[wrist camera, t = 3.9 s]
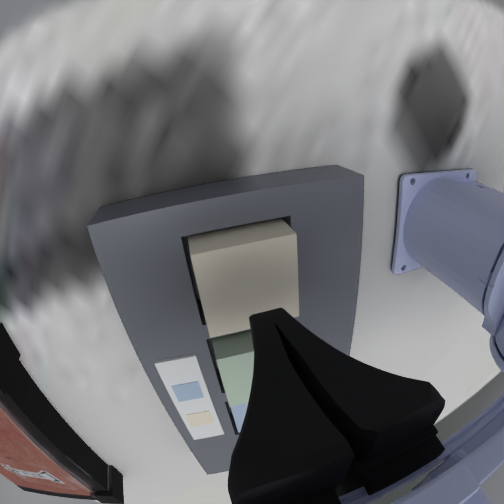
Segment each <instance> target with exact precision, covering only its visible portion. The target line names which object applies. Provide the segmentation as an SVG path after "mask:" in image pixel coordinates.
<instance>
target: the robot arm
mask: <svg viewBox="0 0 504 504" xmlns="http://www.w3.org/2000/svg"><path fill="white" fill-rule="evenodd" d="M411 179H412V182H411V183H410V181H411ZM402 266H403V267H402ZM422 266H423V267H424V268H425V269H427V270H428V271H429V272H431V273H432V274H433V275H435V276H436V277H437V278H439V279H440V280H441V281H442V282H444V283H445V284H446V285H448V286H449V287H450V288H451V289H453V290H454V291H455V292H456V293H458V294H459V295H460V296H461V297H463V298H464V299H465V300H466V301H468V302H469V303H470V304H471V305H472V306H474V307H475V308H476V309H477V310H478V311H480V312H481V313H482V314H483V315H484V316H485V317H484V321H483V324H482V327H483V328H485V329H486V330H487V331H488V332H489V333H490V334H491V336H490V351H491V354H492V356H493V358H494V360H495V362H496V364H497V365H498V367H499V368H500V369H501V371H502V372H503V373H504V193H502V192H500V191H497V190H495V189H493V188H490V187H488V186H485V185H483V184H480V183H478V182H476V171H475V170H473V169H463V170H448V171H434V172H422V173H411V174H404V175H402V176H401V178H400V186H399V203H398V217H397V228H396V238H395V247H394V255H393V263H392V272H393V273H394V274H396V275H398V274H401V273H404V272H407V271H410V270H413V269H416V268H419V267H422ZM249 322H250V329H251V335H252V342H253V348H254V367H253V378H252V385H251V392H250V397H249V402H248V406H247V411H246V414H245V418H244V421H243V425H242V428H241V431H240V434H239V437H238V440H237V442H236V445H235V448H234V450H233V453H232V455H231V462H230V468H229V476H228V491H229V495H230V498H231V502H232V504H370V503H372V502H374V501H376V500H378V499H380V498H382V497H384V496H386V495H388V494H390V493H392V492H394V491H396V490H398V489H399V488H401V487H403V486H405V485H406V484H408V483H410V482H412V481H413V480H415V479H416V478H418V477H420V476H422V475H423V474H425V473H426V472H428V471H429V470H431V469H433V468H434V467H435V466H437V465H438V464H440V463H441V464H440V465H439V466H438V467H436V468H435V469H434V470H432V471H431V472H430V473H429V474H428V475H427V477H426V478H425V479H424V480H423V481H421V482H420V483H419V484H418V485H417V486H415V487H414V488H413V489H412V492H410V493H408V494H406V495H405V496H403V497H401V498H399V499H398V500H396V501H394V502H392V503H390V504H491V503H490V501H489V500H488V498H487V497H486V495H485V493H484V492H483V491H482V489H481V488H480V484H481V483H482V482H483V481H485V480H486V479H487V478H488V477H489V476H490V475H491V474H492V473H493V472H494V471H495V470H496V469H497V468H498V467H499V466H500V465H501V464H502V463H503V462H504V394H503V395H502V396H501V397H499V398H498V399H497V400H496V401H495V402H494V403H493V404H491V405H490V406H489V407H488V408H487V409H486V410H484V411H483V412H482V413H481V414H480V415H478V416H477V417H476V418H475V419H473V420H472V421H471V422H470V423H468V424H467V425H466V426H464V427H463V428H462V429H460V430H459V431H458V432H456V433H455V434H453V435H452V436H450V437H449V438H448V439H446V440H445V441H443V442H442V443H441V442H440V441H439V439H438V438H437V436H436V434H437V433H438V431H437V429H436V428H435V426H434V423H435V422H436V420H437V418H438V417H439V415H440V414H441V412H442V410H443V408H444V405H445V400H444V399H443V397H442V396H441V395H440V394H439V392H438V391H437V390H436V389H435V388H434V387H433V386H432V385H431V384H430V383H429V382H426V381H421V380H415V379H411V378H406V377H402V376H398V375H395V374H392V373H388V372H385V371H382V370H380V369H377V368H375V367H372V366H370V365H367V364H364V363H362V362H360V361H358V360H356V359H354V358H352V357H350V356H348V355H346V354H344V353H343V352H341V351H339V350H338V349H336V348H334V347H333V346H331V345H330V344H328V343H326V342H325V341H324V340H322V339H321V338H319V337H318V336H316V335H315V334H314V333H312V332H311V331H310V330H308V329H307V328H306V327H305V326H303V325H302V324H301V323H300V322H298V321H297V320H296V319H295V318H294V317H292V316H291V315H290V314H289V313H288V312H287V311H286V310H285V309H283V308H282V307H280V308H277V309H273V310H269V311H265V312H261V313H256V314H252V315H251V316H250V317H249ZM444 460H445V461H444ZM443 461H444V462H443ZM442 462H443V463H442Z"/></svg>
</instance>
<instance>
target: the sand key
mask: <svg viewBox="0 0 504 504" xmlns="http://www.w3.org/2000/svg"><path fill="white" fill-rule="evenodd" d="M188 243H189V250H190V256H191V261H192V265H193V270H194V274H195V278H196V283H197V287H198V291H199V295H200V299H201V304H202V308H203V312H204V316H205V320H206V324H207V327H208V331H209V335H210V338H212V337H217V336H221V335H226V334H230V333H235V332H239V331H243V330H247V329H250V322H249V317H250V316H251V315H252V314H256V313H261V312H265V311H269V310H273V309H277V308H280V307H282V308H283V309H285V310H286V311H287V312H288V313H289V314H290V315H291V316H292V317H294V318H295V317H298V316H299V287H298V257H297V234H296V233H295V232H294V231H293V230H292V229H291V228H290V227H289V226H288V225H287V223H286V222H285V221H284V220H283V219H282V218H280V219H275V220H270V221H264V222H259V223H254V224H249V225H243V226H238V227H233V228H228V229H223V230H218V231H213V232H208V233H203V234H198V235H193V236H188Z"/></svg>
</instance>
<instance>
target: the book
mask: <svg viewBox="0 0 504 504" xmlns="http://www.w3.org/2000/svg"><path fill="white" fill-rule="evenodd" d="M19 357H20V353H19V351H18V350H17V348H16V346H15V345H14V343H13V341H12V340H11V338H10V336H9V335H8V333H7V331H6V329H5V328H4V326H3V324H2V323H0V474H2V475H3V476H4V477H6V478H7V479H8V480H10V481H11V482H13V483H14V484H15V485H17V486H18V487H20V488H21V489H23V490H24V491H29V492H35V493H40V494H46V495H52V496H60V497H68V498H77V499H89V500H98V501H100V502H101V503H107V504H124V495H123V475H122V474H121V473H120V472H119V471H118V470H117V469H115V468H114V467H113V466H112V465H107V464H106V463H105V462H104V461H103V460H102V459H101V458H100V457H99V456H98V455H97V454H96V453H95V452H94V451H93V450H92V449H91V448H90V447H89V446H88V445H87V444H86V443H85V442H84V441H83V440H82V439H81V438H80V437H79V436H78V435H77V434H76V433H75V432H74V430H73V429H72V428H71V427H70V426H69V425H68V424H67V423H66V421H65V420H64V419H63V418H62V417H61V416H60V414H59V413H58V412H57V411H56V410H55V408H54V407H53V406H52V405H51V403H50V402H49V401H48V400H47V398H46V397H45V396H44V394H43V393H42V392H41V391H40V389H39V388H38V386H37V385H36V384H35V382H34V381H33V380H32V378H31V377H30V375H29V374H28V372H27V371H26V370H25V368H24V367H23V365H22V364H21V362H20V361H19Z"/></svg>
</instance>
